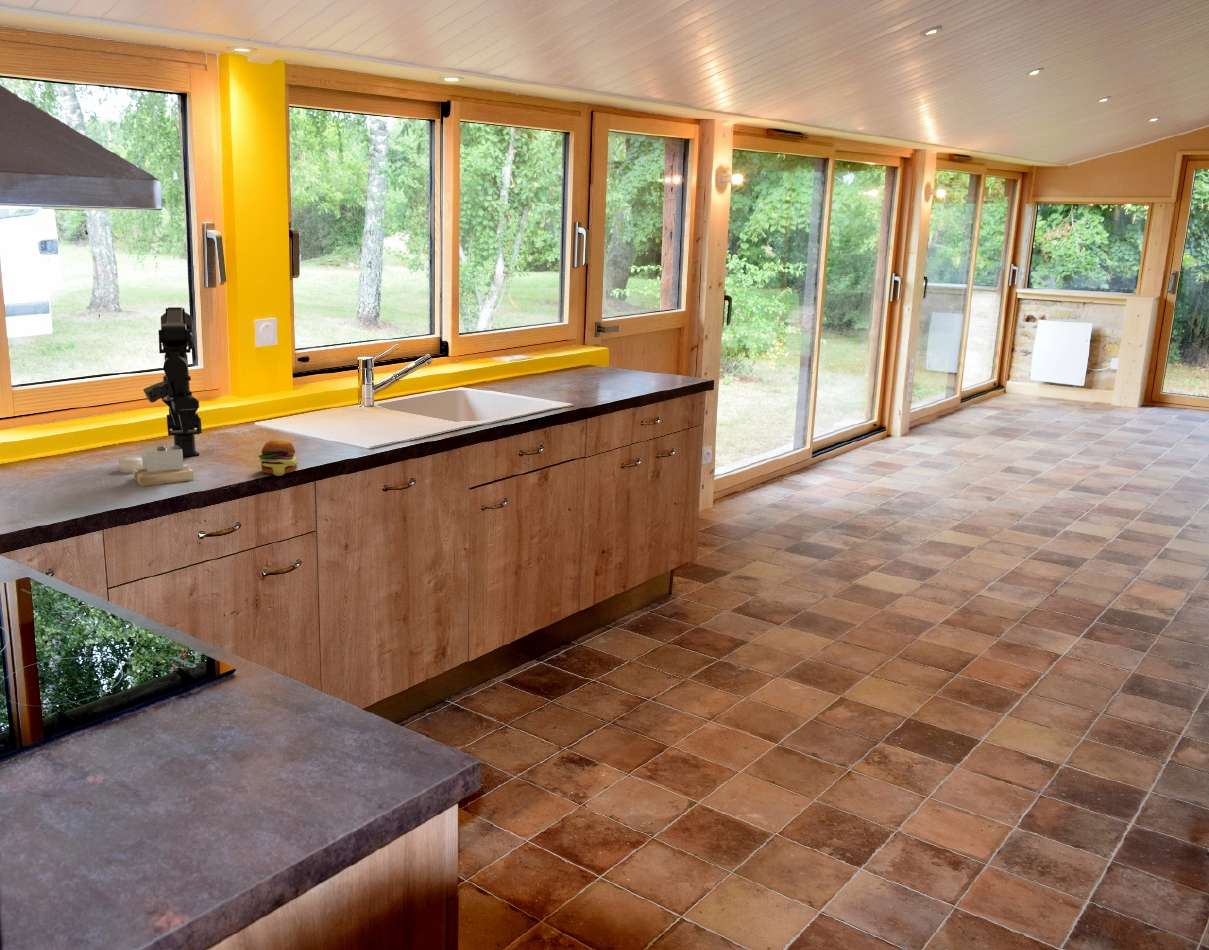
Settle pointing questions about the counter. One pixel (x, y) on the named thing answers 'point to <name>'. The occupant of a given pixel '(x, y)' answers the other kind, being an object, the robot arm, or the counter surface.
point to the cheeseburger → (278, 457)
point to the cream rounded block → (130, 463)
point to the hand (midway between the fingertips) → (181, 429)
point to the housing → (162, 459)
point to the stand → (163, 476)
